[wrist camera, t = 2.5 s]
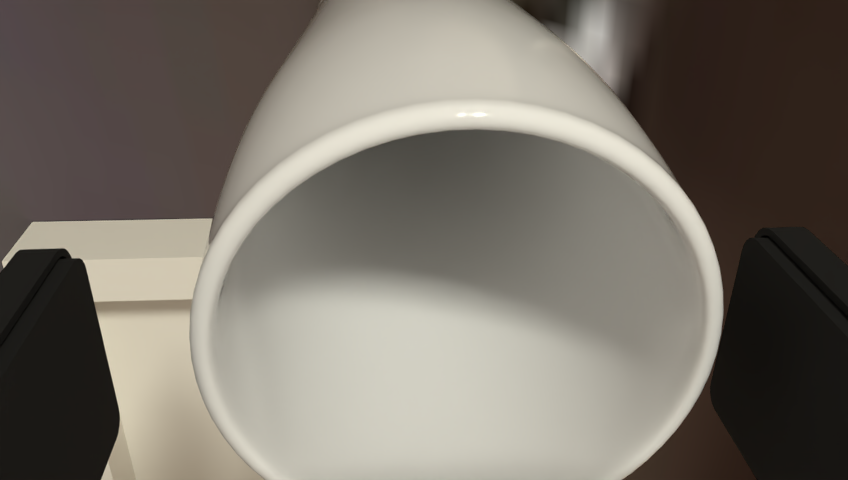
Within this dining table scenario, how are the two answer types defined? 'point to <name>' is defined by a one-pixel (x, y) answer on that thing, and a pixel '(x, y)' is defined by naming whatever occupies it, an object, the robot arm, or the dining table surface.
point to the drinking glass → (449, 260)
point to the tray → (148, 342)
